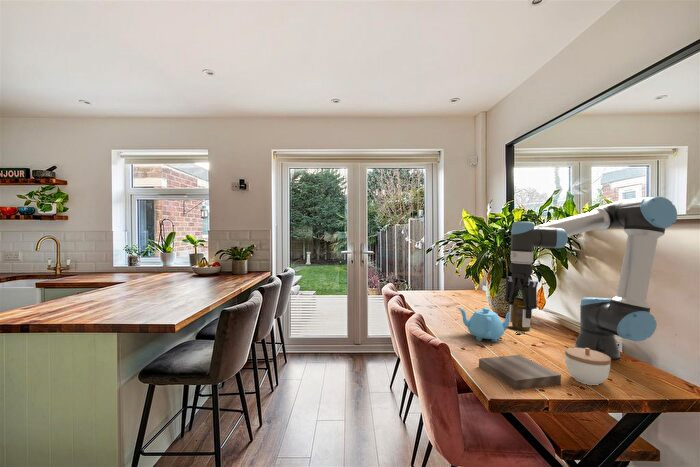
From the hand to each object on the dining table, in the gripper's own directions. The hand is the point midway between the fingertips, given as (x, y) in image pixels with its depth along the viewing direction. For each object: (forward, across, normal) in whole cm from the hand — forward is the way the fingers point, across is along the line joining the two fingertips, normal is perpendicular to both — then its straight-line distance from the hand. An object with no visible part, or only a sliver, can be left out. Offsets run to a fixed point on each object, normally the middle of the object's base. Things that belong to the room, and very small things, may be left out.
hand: (519, 324), depth 123 cm
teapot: (+16, -30, +8) cm, 35 cm away
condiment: (+2, 0, 0) cm, 2 cm away
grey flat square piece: (+16, +7, -6) cm, 18 cm away
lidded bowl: (+16, +16, +14) cm, 26 cm away
